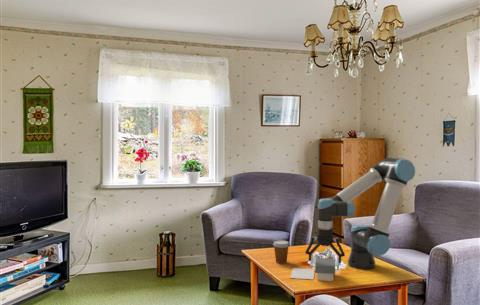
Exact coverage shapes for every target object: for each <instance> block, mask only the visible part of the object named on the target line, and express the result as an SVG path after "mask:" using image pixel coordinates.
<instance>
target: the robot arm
mask: <svg viewBox="0 0 480 305" xmlns="http://www.w3.org/2000/svg"><path fill="white" fill-rule="evenodd" d="M415 168H416V167H415V165H414V164H413V162H412V161H411V160H409V159H406V158H396V157H395V158H394V157H388V158H385V159H382V160H381V161H379V162H377V163H376V164H374V165H373V166H372V167H371V168H370V169H369V170H368V171H367V172H366V173H365V174H364V175H361V176H360V177H359V178H358V179H356V180H354V182H352V183H351V184H350V185H348V186H346V187H345V188H343V189H342V190H341V191H339V192H338V193H337V194H335V195H333V196H332V197H327V198H320V199H318V206H317V211H318V212H317V215H318V217H317V219H318V220H317V227H318V229H317V236H314V235H312V236H311V241H310V243H308V246H307V248H306V250H305V252H304V253H305V255H308V261H309V262H310V269H312V268H313V267H314V264H313V262H314V261H313V259H314V254H313V253H315V251H317V249H318V248H319V247H320V246H322V247H330V248H331V249H332V251H333V252H334V253H335V254H336V255H337V257H336V258H337V259H336V260H337V261H336V262H337V264H336V265H337V266H336V270H337V271H339V270H340V265H339V264H341V263H342V257H345V256H346V254H345V251H344V249H343V248H342V246H341V243H340V241H339V240H340V239H339V237H338V236H337V237H333V227H334V226H333V222H334V219H333V218H334V217H336V218H337V217H343V218H344V217H353V216H354V215H355V213H356V212H355V211H356V207H355V203H353V202H351V201H353V200H354V199H356V198H357V197H359V196H360V195H361V194H363V193H364V192H365V191H367V190H369V189H370V188H372V187H373V186H374V185H375V184H377V183H382V181H385V186H384V189H383V191H382V194H381V197H380V199H379V202H378V203H379V204H378V205H377V209H376V212H375V214H374V217H373V220H372V222H371V224H370V225H369V224H367V225H364V224H359V225H352V226H351V228H350V253H349V256H348V260H347V265H348V266H349V267H351V268H354V269H359V270H370V269H374V268H375V267H376V260H375V257H374V256H378V257H380V256H383V255H385V254H386V253H388V251H389V250H390V248H391V241H390V238H389V237H390V231H389V227H390V225H391V222H392V219H393V215H394V213H395V210H396V207H397V204H398V201H399V198H400V196H401V193H402V190H403V188H406V187H407V185H408V182H410V181H411V180H413V179H414V177H415V175H416V169H415ZM315 241H317V243H316V244H315V245H314V247H313V248H312V246H313V244H314V243H315ZM333 242H334V243H336V245H337V247H338V249H339V250H338V249H337V248H336V246H335V245H334V244H333ZM311 248H312V249H311Z"/></svg>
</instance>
